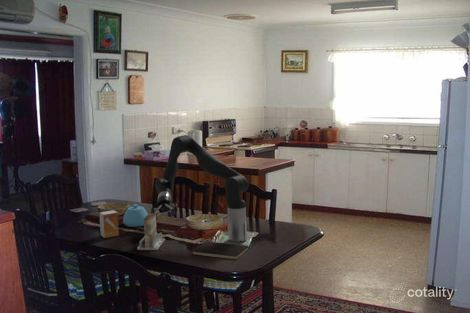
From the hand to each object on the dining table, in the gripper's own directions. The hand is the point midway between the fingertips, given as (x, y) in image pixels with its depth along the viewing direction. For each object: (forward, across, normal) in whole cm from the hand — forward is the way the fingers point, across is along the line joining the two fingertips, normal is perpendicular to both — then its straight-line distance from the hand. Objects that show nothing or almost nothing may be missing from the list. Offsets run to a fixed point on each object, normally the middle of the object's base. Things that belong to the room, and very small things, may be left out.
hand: (164, 217), depth 279 cm
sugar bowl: (-25, -21, +16) cm, 36 cm away
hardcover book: (+30, +26, +8) cm, 41 cm away
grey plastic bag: (+14, -8, +5) cm, 17 cm away
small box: (-5, -32, +7) cm, 33 cm away
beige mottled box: (+14, -8, +4) cm, 16 cm away
